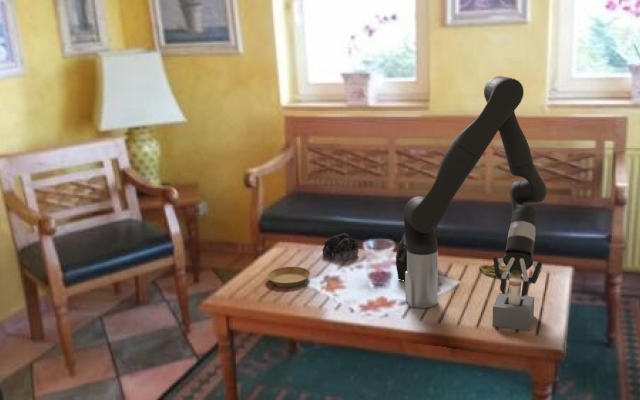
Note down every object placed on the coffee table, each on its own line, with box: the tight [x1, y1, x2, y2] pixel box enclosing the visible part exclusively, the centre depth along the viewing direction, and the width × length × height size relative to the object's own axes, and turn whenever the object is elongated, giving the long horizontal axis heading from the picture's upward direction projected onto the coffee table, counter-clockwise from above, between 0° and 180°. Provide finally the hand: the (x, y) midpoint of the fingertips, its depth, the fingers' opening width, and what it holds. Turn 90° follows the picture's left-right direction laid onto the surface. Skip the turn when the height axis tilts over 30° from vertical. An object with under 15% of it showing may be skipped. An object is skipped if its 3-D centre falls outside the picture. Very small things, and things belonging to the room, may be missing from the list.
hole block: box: [491, 292, 535, 332], centre depth 190 cm, size 10×10×6 cm
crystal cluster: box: [322, 232, 359, 262], centre depth 247 cm, size 13×14×10 cm
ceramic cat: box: [395, 226, 439, 281], centre depth 226 cm, size 20×6×20 cm, turn 136°
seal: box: [478, 263, 523, 280], centre depth 224 cm, size 9×5×15 cm
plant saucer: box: [267, 266, 311, 288], centre depth 227 cm, size 15×15×3 cm
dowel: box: [508, 276, 523, 306], centre depth 189 cm, size 3×3×12 cm
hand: (513, 294), depth 187 cm, fingers open, 4 cm apart
